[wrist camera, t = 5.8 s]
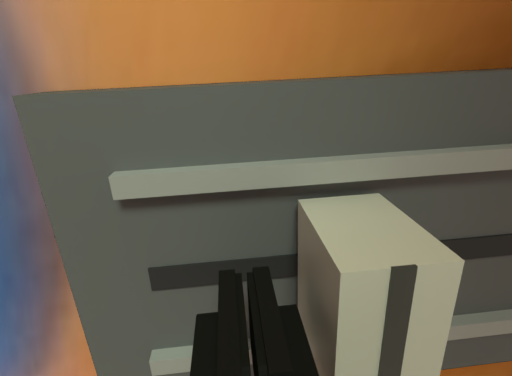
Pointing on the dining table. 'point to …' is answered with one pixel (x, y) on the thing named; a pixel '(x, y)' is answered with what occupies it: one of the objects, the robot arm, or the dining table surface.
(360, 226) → the fader cap
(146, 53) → the dining table surface
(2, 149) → the dining table surface
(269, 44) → the dining table surface
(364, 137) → the fader board
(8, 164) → the dining table surface
